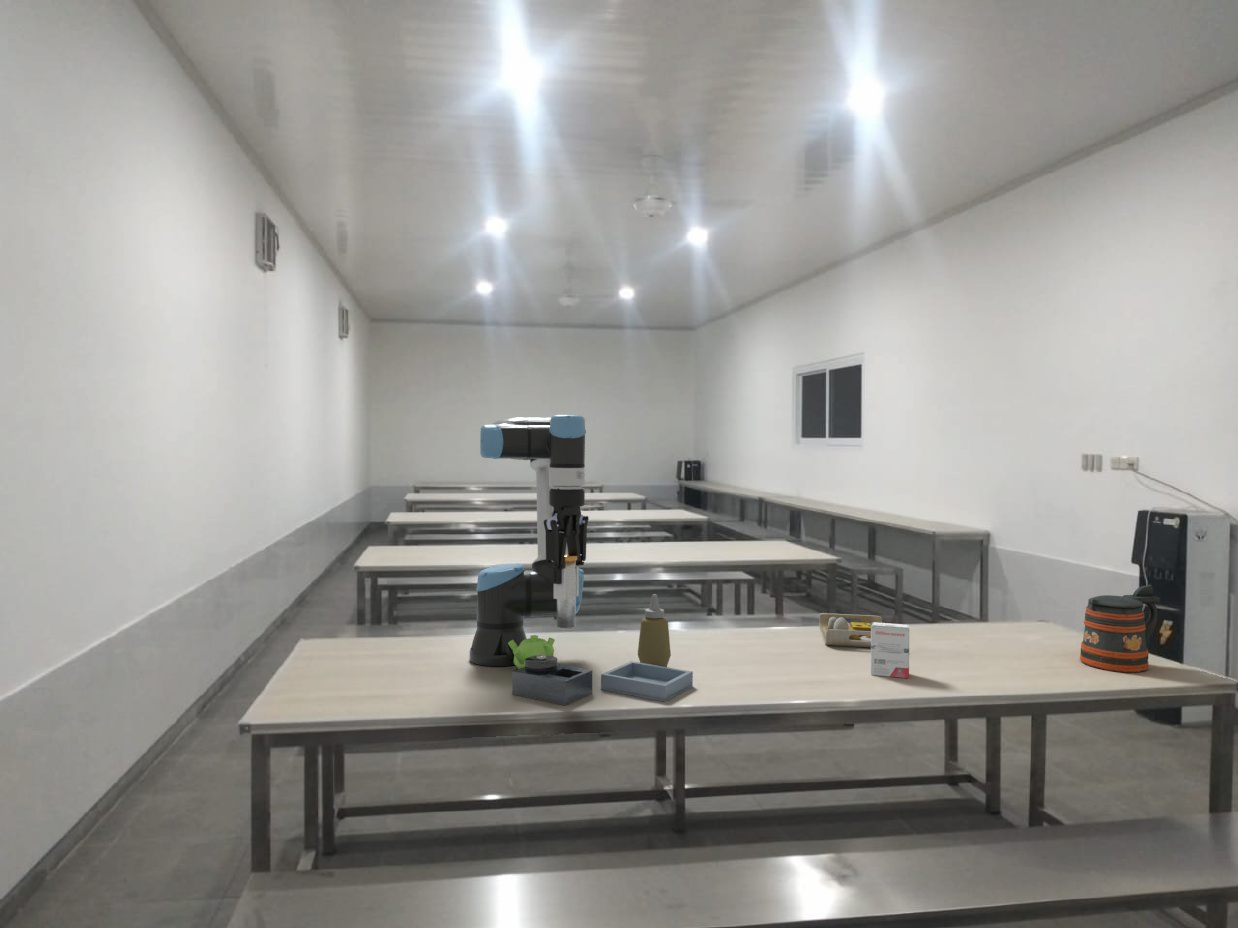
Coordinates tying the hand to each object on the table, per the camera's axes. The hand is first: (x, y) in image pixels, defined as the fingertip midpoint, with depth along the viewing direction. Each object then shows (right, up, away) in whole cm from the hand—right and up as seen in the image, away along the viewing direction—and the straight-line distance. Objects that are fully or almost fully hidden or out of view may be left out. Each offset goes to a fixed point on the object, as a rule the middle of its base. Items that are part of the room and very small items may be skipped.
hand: (566, 596), depth 170 cm
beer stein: (+137, -22, +30) cm, 142 cm away
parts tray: (+18, -21, +7) cm, 28 cm away
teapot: (-10, -21, +20) cm, 31 cm away
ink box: (+76, -22, +19) cm, 81 cm away
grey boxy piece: (-3, -21, +2) cm, 21 cm away
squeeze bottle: (+20, -21, +22) cm, 36 cm away
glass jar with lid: (0, -6, 0) cm, 6 cm away
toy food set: (+78, -22, +55) cm, 98 cm away
